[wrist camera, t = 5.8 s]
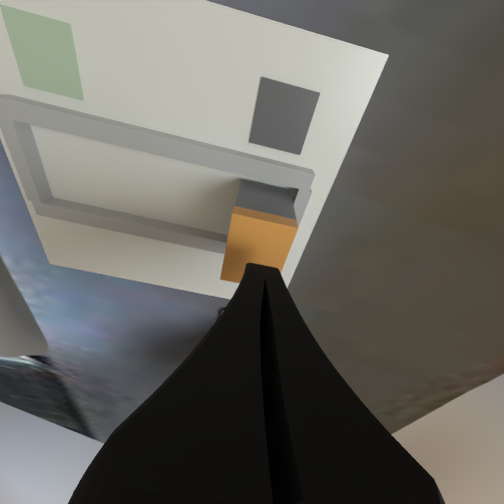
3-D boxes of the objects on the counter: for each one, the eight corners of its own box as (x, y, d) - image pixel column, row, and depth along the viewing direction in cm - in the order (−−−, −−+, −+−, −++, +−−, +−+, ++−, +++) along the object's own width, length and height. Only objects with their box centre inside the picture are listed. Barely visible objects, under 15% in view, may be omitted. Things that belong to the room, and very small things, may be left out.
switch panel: (277, 296, 22) (278, 317, 20) (62, 253, 20) (39, 271, 18) (376, 58, 12) (399, 52, 10) (-46, -67, 10) (-126, -106, 8)
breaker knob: (272, 242, 16) (274, 290, 12) (231, 233, 16) (219, 279, 12) (289, 189, 14) (298, 228, 10) (242, 178, 14) (232, 213, 10)
